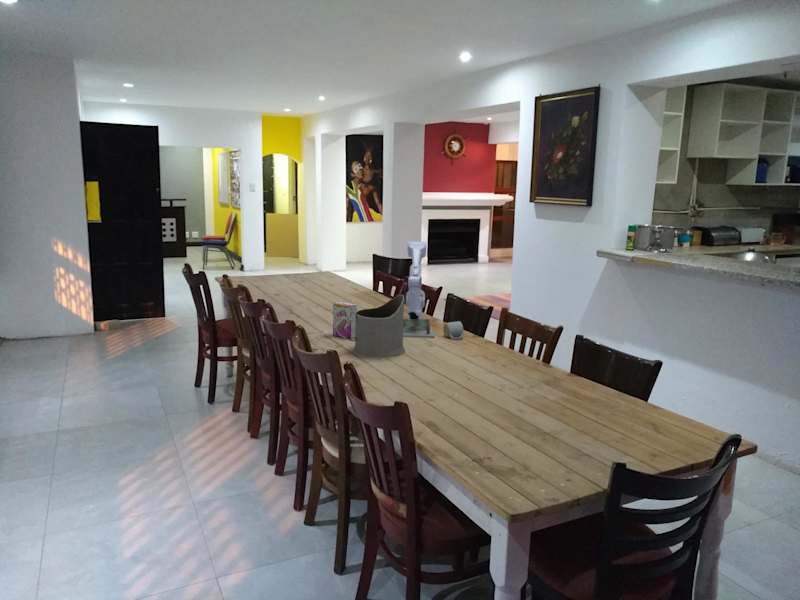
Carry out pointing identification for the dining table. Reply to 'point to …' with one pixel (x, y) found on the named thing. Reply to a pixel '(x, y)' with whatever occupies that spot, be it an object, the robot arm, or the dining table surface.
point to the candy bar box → (344, 320)
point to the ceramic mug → (453, 330)
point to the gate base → (419, 333)
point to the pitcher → (379, 330)
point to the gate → (415, 324)
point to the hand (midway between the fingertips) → (413, 326)
